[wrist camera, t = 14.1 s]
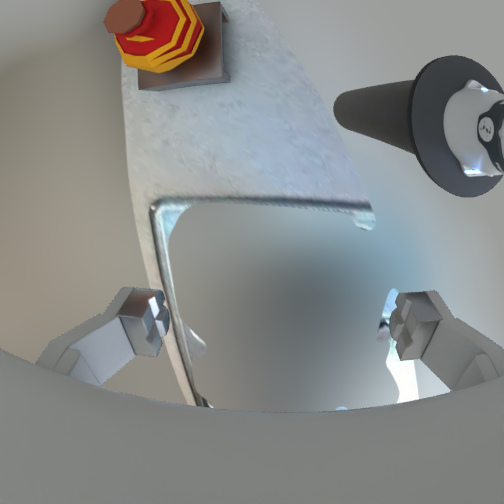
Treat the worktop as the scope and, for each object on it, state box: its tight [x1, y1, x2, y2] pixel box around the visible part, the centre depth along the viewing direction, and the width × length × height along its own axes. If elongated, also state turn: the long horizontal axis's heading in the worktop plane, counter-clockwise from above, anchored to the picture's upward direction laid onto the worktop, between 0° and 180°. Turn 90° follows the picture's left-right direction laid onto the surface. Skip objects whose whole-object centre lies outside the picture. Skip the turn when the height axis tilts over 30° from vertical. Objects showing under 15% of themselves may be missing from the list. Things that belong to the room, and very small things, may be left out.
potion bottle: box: [104, 0, 204, 73], centre depth 22 cm, size 10×10×15 cm
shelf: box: [138, 2, 230, 91], centre depth 31 cm, size 12×12×7 cm
